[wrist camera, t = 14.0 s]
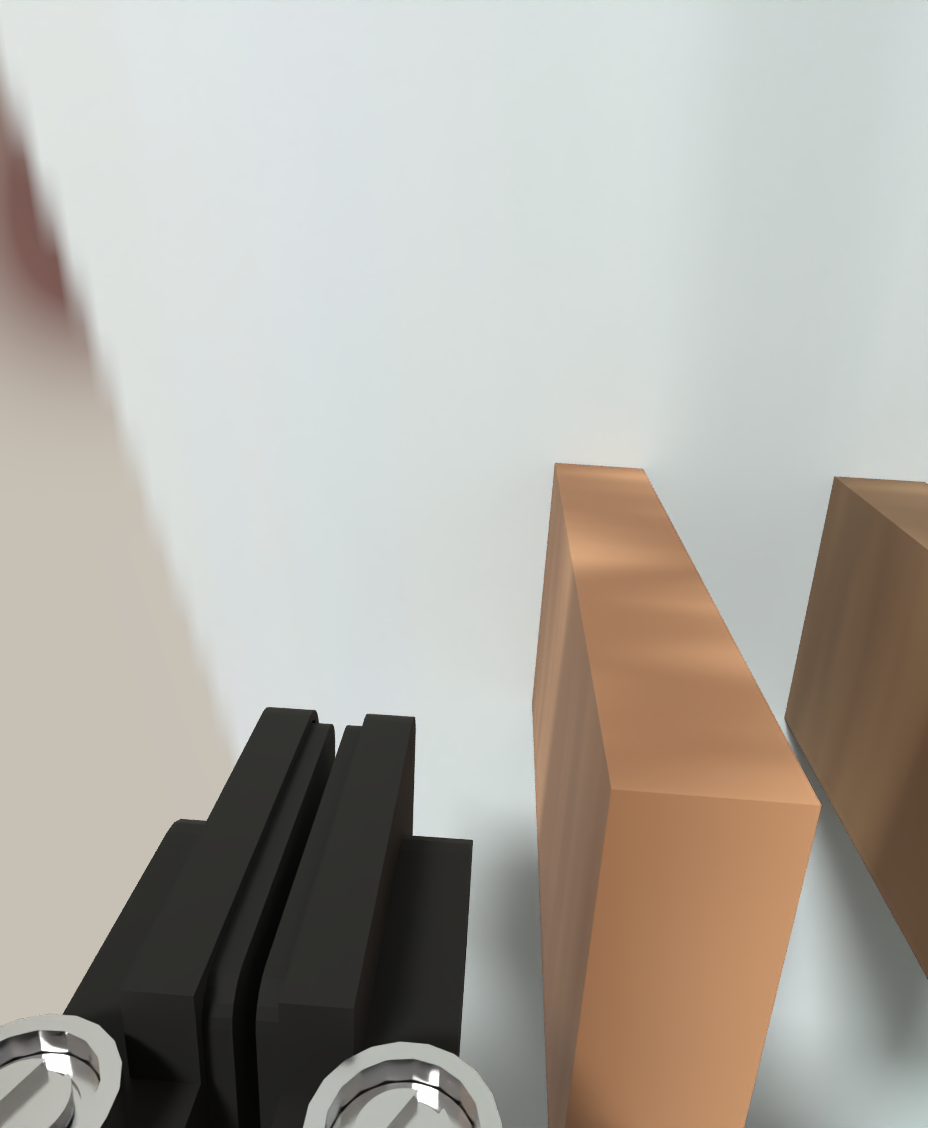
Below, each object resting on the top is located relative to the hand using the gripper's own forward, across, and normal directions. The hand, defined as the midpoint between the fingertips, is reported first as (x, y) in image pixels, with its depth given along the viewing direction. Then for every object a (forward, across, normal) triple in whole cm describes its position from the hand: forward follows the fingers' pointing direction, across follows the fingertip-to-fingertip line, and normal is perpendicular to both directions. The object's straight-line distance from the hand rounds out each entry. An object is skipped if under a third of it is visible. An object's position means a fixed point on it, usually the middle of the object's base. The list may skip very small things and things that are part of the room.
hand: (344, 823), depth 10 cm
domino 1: (+8, -3, 0) cm, 8 cm away
